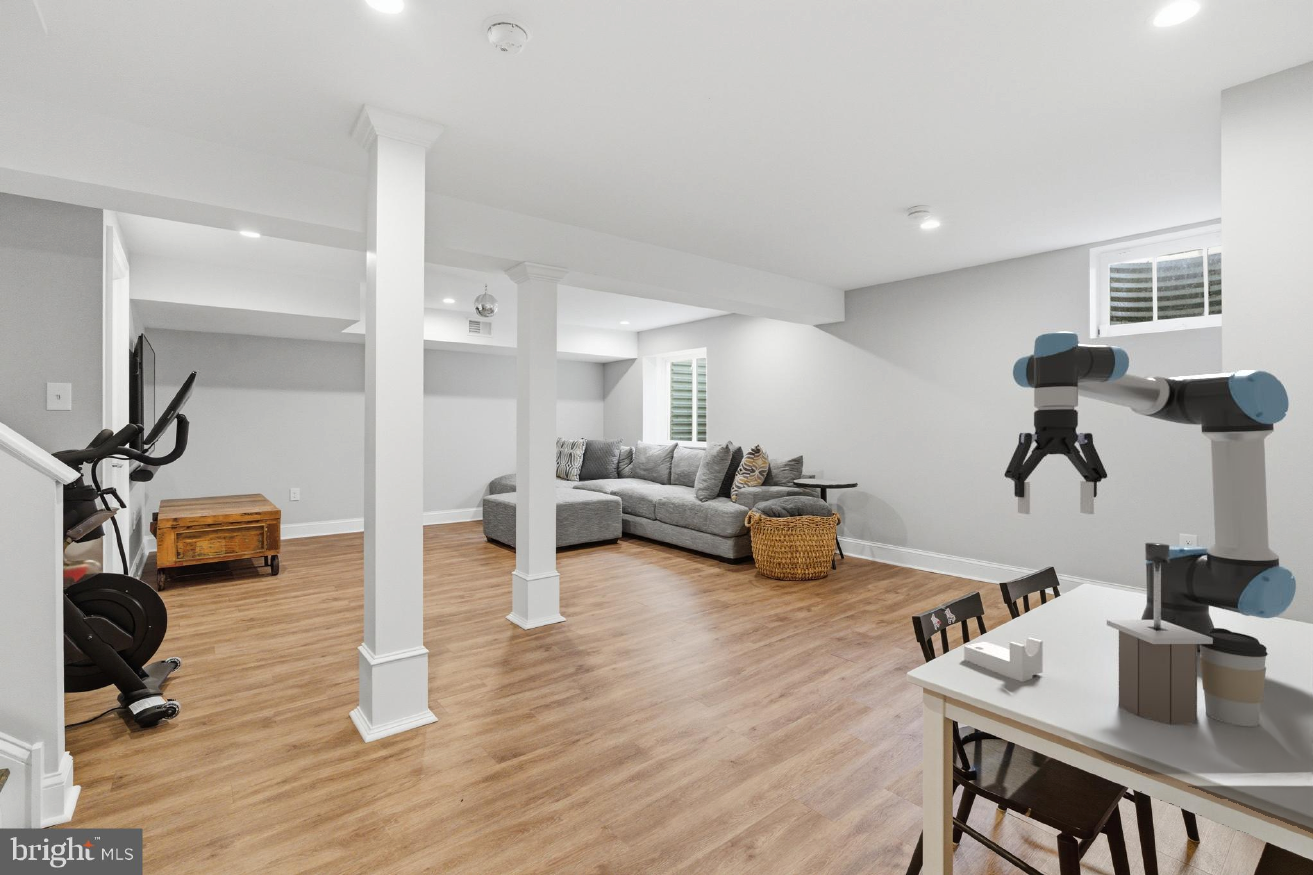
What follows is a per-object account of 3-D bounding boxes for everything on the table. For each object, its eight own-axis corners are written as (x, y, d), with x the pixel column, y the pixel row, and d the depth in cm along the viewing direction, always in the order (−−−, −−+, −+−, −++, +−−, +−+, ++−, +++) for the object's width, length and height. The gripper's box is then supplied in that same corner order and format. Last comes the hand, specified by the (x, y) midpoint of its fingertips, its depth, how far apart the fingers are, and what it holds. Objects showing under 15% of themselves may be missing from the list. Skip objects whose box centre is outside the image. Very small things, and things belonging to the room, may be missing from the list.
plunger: (1159, 642, 114) (1159, 540, 114) (1193, 656, 107) (1193, 547, 107) (1123, 642, 114) (1123, 541, 114) (1154, 656, 107) (1154, 547, 107)
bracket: (1042, 676, 127) (1042, 640, 127) (1021, 682, 124) (1021, 646, 124) (984, 656, 138) (984, 623, 138) (964, 661, 135) (964, 628, 135)
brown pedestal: (1160, 697, 116) (1160, 619, 116) (1213, 723, 105) (1213, 638, 105) (1105, 697, 116) (1105, 619, 116) (1153, 724, 105) (1153, 638, 105)
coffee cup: (1282, 731, 102) (1282, 643, 102) (1220, 726, 104) (1220, 640, 104) (1242, 708, 111) (1242, 627, 111) (1185, 704, 113) (1185, 624, 113)
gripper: (1100, 410, 127) (1100, 511, 127) (985, 409, 127) (985, 511, 127) (1129, 408, 120) (1129, 515, 120) (1007, 408, 119) (1007, 515, 119)
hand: (1055, 513), depth 123 cm, fingers open, 12 cm apart
